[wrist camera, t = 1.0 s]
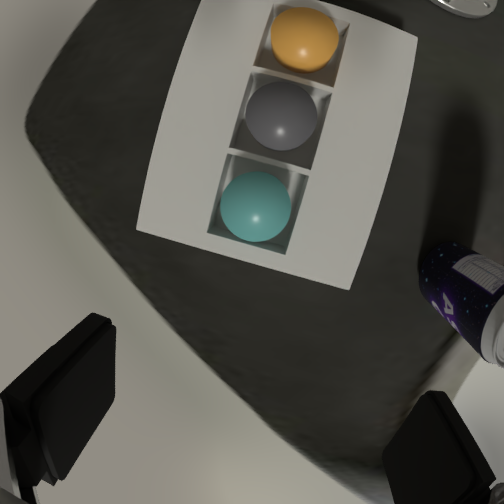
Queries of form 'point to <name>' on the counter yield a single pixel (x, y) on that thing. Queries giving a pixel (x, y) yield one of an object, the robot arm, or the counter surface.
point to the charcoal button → (281, 116)
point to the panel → (274, 162)
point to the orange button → (303, 39)
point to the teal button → (255, 206)
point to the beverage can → (467, 296)
